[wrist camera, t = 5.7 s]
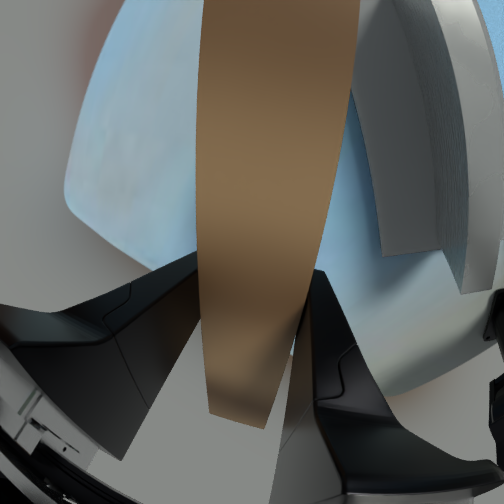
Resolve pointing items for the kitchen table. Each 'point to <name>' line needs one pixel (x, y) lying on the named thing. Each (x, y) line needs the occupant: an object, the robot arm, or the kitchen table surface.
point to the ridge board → (398, 129)
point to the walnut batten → (264, 182)
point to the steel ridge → (460, 133)
